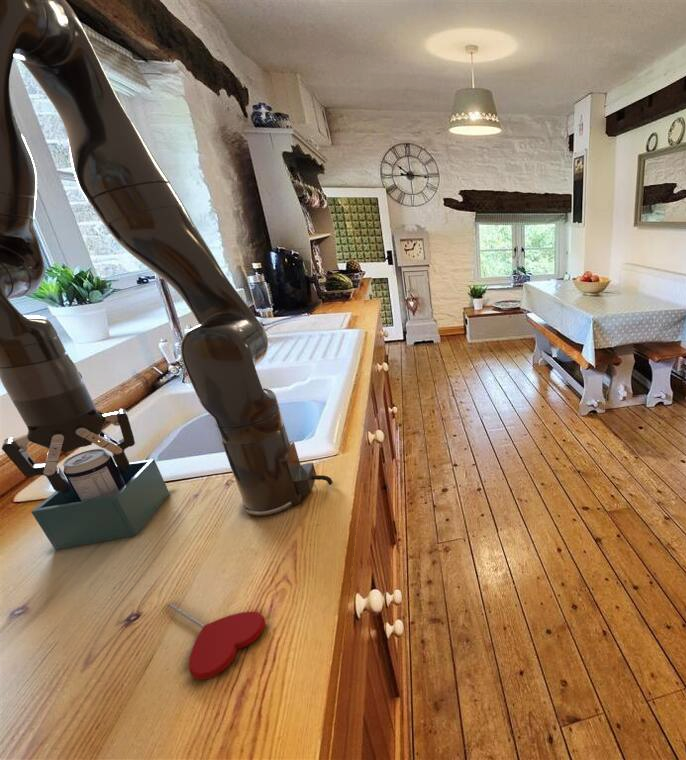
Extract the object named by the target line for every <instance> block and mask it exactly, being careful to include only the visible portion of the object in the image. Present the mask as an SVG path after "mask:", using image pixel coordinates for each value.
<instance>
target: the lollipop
mask: <svg viewBox="0 0 686 760" xmlns="http://www.w3.org/2000/svg"><path fill="white" fill-rule="evenodd" d="M166 606H167V607H169V608H170V609H171V610H173V611H174V612H176V613H178V614H180V615H181V616H182V617H184V618H186V619H187V620H189V621H191V622H192V623H193V624H195V625H197V626H198V627H199V628H201V630H200V632H199V633H198V635H197V638H196V640H195V641H194V644H193V645H192V649H191V652H190V655H189V659H188V670H189V673H190V675H191V676H192V677H193V678H195V679H198V680H208V679H211V678H214V677H215V676H217V675H219V674H221V673H222V672H223V671H225V670H226V669H227V668H228V667H229V666H230V665H231V664H232V663H233V661H234V659H235V657H236V655H237V651H238V649H243V648H246V647H247V646H249V645H251V644H253V643H254V642H256V640H258V638H259V637H260V636H261V635H262V633H263V631H264V629H265V626H266V619H265V617H264V615H263V614H262V613H261V612H257V611H243V612H242V611H241V612H238V613H234V614H230V615H227V616H224V617H221V618H219V619H217V620H213V621H212V622H208V623H206V624H204V623H202V622H201V621H199V620H198V619H196V618H194V617H193V616H191V615H190V614H188V613H186V612H185V611H183V610H182V609H180V608H179V607H177V606H176V605H174V604H172V603H171V602H168V603H167V604H166Z"/></svg>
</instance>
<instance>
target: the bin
mask: <svg viewBox="0 0 686 760" xmlns="http://www.w3.org/2000/svg"><path fill="white" fill-rule="evenodd" d="M129 464H130V466H129V468H128V469H126V470H127V472H126V473H123V474H121V473H120V471H119V469H118V467H117V465H116V464H115V465H116V467H117V469H118V471H119V473H120V475H121V477H122V479H123V481H124V483H125V486H124V487H123V488H122V489H121V490H120V491H119V492H118V493H117V494H116V495H115V496H112V497H106V498H99V499H93V500H87V501H81V502H80V501H79V499H78V498H77V496H76V494H75V492H74V491H73V489H72V487H71V485H70V483H69V482H68V480H67V482H68V483H69V485H70V492H67V493H63V492H62V491H59V492H57V491H55V490H54V492H53V493H52V494H50V495H49V496H48V497H46V499H44V500H43V501H42V502H40V504H38V505H37V506H36V507H34V508H33V509H32V510H31V511H30V512H31V515H32V516H33V518H34V519H35V521H36V522H37V523H38V525H39V527H40V528H41V530H42V532H43V533H44V535H45V536H46V538H47V539H48V541H49V542H50V544H51V545H52V547H53V549H54V550H56V551H57V550H61V549H62V550H63V549H66V548H73V547H79V546H84V545H85V546H86V545H89V544H95V543H100V542H107V541H112V540H117V539H118V540H119V539H123V538H128V537H134V536H137V535H138V533H139V532H140V531H141V530H142V529H143V527H144V526H145V525H146V524H147V523H148V521H149V520H150V519H151V517H152V515H154V514H155V512H156V511H157V510H158V509H159V507H160V506H161V505H162V504H163V502H164V501H165V499H167V497H168V496H169V495H170V491H169V489H168V487H167V484H166V482H165V480H164V478H163V476H162V473H161V471H160V469H159V466H158V465H157V464H158V463H157V462H156V461H155V459H154V458H153V459H147V460H146V459H145V460H140V461H133V462H132V461H131V462H129Z"/></svg>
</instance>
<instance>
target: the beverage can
mask: <svg viewBox="0 0 686 760" xmlns="http://www.w3.org/2000/svg"><path fill="white" fill-rule="evenodd" d="M62 466H63V471H62V473H63V474H64V476H65V478H66V480H67V481H68V482H69V483H70V485H71V487H72V489H73V491H74V492H75V494H76V496H77V498H78V499H79V501H80V502H81V501H87V500H93V499H99V498H106V497H112V496H115V495H116V494H117V493H118V492H119V491H120V490H121V489H122V488H123V487H124V486H125V483H124V481H123V479H122V477H121V475H120V473H119V471H118V469H117V467H116V463H115V461H114V458H113V456H112V454H109V453H108V452H106V449H105V450H104V448H94V449H93V448H92V449H89V450H85V451H82V452H79V453H75V454H74V455H72V456H70V457H68V458H66V459H65V460H64V461H63V463H62Z"/></svg>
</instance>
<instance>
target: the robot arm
mask: <svg viewBox="0 0 686 760" xmlns="http://www.w3.org/2000/svg"><path fill="white" fill-rule="evenodd" d="M14 58H16V59H18V60H19V61H20V62H21V63H22V65H23V66H24V67H25V68H26V69H27V70H28V72H30V74H31V75H32V77H33V78H34V79H35V81H36V82H37V83H38V85H39V87H40V88H41V89H42V91H43V92H44V93H45V96H47V98H48V99H49V101H50V102H51V104H52V106H53V107H54V109H55V110H56V112H57V114H58V115H59V117H60V119H61V122H62V124H63V126H64V129H65V132H66V138H67V142H68V148H69V154H70V155H69V156H70V162H71V166H72V171H73V174H74V177H75V180H76V183H77V185H78V187H79V189H80V191H81V193H82V194H83V196H84V198H85V200H86V201H87V203H89V205H90V206H91V208H92V209H93V211H94V213H96V215H97V216H98V218H99V219H100V221H101V222H102V224H103V225H104V226H105V228H106V230H107V231H108V232H109V233H110V235H111V236H112V237H113V238H114V239H115V241H116V242H117V244H119V245H120V246H121V247H122V248H123V249H125V250H126V251H127V252H128V253H129V254H130V255H131V256H132V257H134V258H135V259H136V260H137V261H139V262H140V263H141V264H143V265H144V267H145V266H146V268H148V269H149V270H151V271H152V272H153V273H154V274H155V275H157V276H158V277H160V279H162V280H164V281H165V282H166V283H167V284H168V285H169V286H171V288H173V290H175V291H176V293H177V294H178V295H179V296H180V297H181V299H182V300H183V301H184V303H185V304H186V306H187V307H188V308H189V310H190V311H191V313H192V315H193V316H194V318H195V320H196V322H197V323H198V325H196V326H194V327H193V328H191V329H189V330H188V331H187V332H186V333H185V334H184V335H183V337H182V339H181V343H180V355H181V360H182V364H183V367H184V369H185V372H186V374H187V376H188V379H189V381H190V384H191V386H192V388H193V390H194V392H195V394H196V396H197V399H198V401H199V402H200V405H201V406H202V408H203V409H204V410H205V411H206V412H207V413H208V414H209V415H210V416H211V417H212V420H213V422H214V425H215V428H216V431H217V433H218V436H219V439H220V442H221V444H222V447H223V450H224V453H225V455H226V459H227V461H228V464H229V467H230V469H231V472H232V475H233V477H234V481H235V482H236V486H237V488H238V491H239V495H240V496H241V500H242V503H243V507H244V509H245V511H246V513H247V514H249V515H250V516H255V517H265V516H271V515H275V514H278V513H281V512H283V511H285V510H287V509H289V508H291V507H293V506H297V505H300V502H301V501H302V497H303V495H307V494H308V495H309V494H312V491H313V488H314V484H315V481H316V480H317V481H318V480H319V481H320V480H322V481H326V482H327V484H328V485H329V486H331V485H333V483H334V482H333V480H332V478H331V477H330V476H327V475H322V474H321V475H317V473H316V469H315V465H314V462H309V463H308V462H307V463H303V464H301V462H300V459H299V455H298V450H297V447H296V444H295V442H294V440H291V441H290V439H289V436H288V432H287V429H286V425H285V421H284V418H283V415H282V411H281V407H280V404H279V401H278V397H277V395H276V393H275V392H274V391H273V390H272V389H270V388H266V387H263V386H262V383H261V380H260V377H259V374H258V371H257V369H256V367H257V366H258V365H259V364H260V363H261V362H263V360H265V358H266V356H267V354H268V352H269V346H270V345H269V338H268V334H267V332H266V330H265V328H264V326H263V325H262V324H261V322H260V321H259V319H258V318H257V317H256V315H255V314H254V312H253V311H252V310H251V309H250V307H249V306H248V305H247V303H246V302H245V301H244V300H243V298H242V297H241V295H240V294H239V293H238V291H237V290H236V289H235V288H234V285H232V283H231V282H230V280H229V278H227V276H226V275H225V272H224V271H223V270H222V268H221V266H220V265H219V263H218V260H217V259H216V257H215V256H214V254H213V253H212V251H211V249H210V248H209V246H208V244H207V243H206V241H205V239H204V237H203V236H202V235H201V233H200V231H199V229H198V228H197V227H196V225H195V223H194V221H193V220H192V218H191V216H190V214H189V212H188V210H187V208H186V207H185V205H184V203H183V202H182V199H180V196H179V195H178V194H177V192H176V190H175V189H174V187H173V185H172V184H171V182H170V180H169V179H168V177H167V175H166V174H165V173H164V171H163V170H162V168H161V167H160V165H159V164H158V162H157V160H156V158H155V157H154V155H153V154H152V152H151V150H150V149H149V147H148V145H147V143H146V142H145V140H144V139H143V137H142V135H141V134H140V131H138V128H137V127H136V125H135V124H134V123H133V121H132V119H131V118H130V116H129V114H128V113H127V112H126V111H127V110H126V109H125V108H124V106H123V105H122V103H121V101H120V98H119V97H118V95H117V93H116V91H115V90H114V88H113V86H112V83H111V82H110V79H109V77H108V76H107V73H106V72H105V69H104V67H103V66H102V64H101V63H102V62H101V61H100V59H99V57H98V55H97V53H96V51H95V49H94V47H93V45H92V42H91V41H90V39H89V37H88V35H87V33H86V30H85V29H84V26H83V25H82V23H81V21H80V20H79V18H78V16H77V14H76V13H75V11H74V10H73V8H72V7H71V5H70V4H69V3H68V2H67V0H0V382H1V384H2V386H3V387H4V389H5V391H6V393H7V395H8V396H9V398H10V401H12V403H13V405H14V407H15V409H16V410H17V412H18V414H19V416H20V418H21V419H22V421H23V422H24V424H25V426H26V428H27V434H24V435H22V436H18V437H8V438H5V439H4V441H3V444H2V445H1V450H2V451H3V452H4V454H5V455H6V456H7V457H8V458H9V459H10V461H11V462H12V463H13V465H15V467H17V469H18V470H19V471H20V472H21V473H22V475H23V476H24V477H26V478H32V477H35V476H43V477H46V478H47V481H48V482H49V483H50V485H51V487H52V488H53V491H54V492H55V491H57V492H59V491H62V492H63V493H67V492H70V485H69V483H68V482H67V481H68V480H67V478H66V476H65V475H64V473H63V471H62V469H61V468H60V467H58V462H59V459H60V456H61V452H63V453H68V452H72V451H74V450H76V449H78V448H84V447H89V446H92V445H93V444H94V445H97V446H98V447H99V448H100V449H105V450H107V451H108V452H110V453H111V457H112V459H113V461H114V463H115V465H117V467H118V469H119V471H120V473H121V474H123V473H126V472H127V470H126V469H128V468H129V466H130V464H129V463H130V461H129V459H128V456H127V455H126V452H125V451H126V449H128V448H130V447H133V446H135V444H136V441H135V437H134V433H133V430H132V426H131V422H130V420H129V419H130V418H129V415H128V412H127V410H126V409H125V408H119V409H118V410H117V411H114V412H109V413H103V412H101V411H99V410H98V408H97V407H96V405H95V402H94V401H93V399H92V396H91V395H90V392H89V390H88V389H87V386H86V384H85V382H84V380H83V376H82V373H81V372H79V370H78V368H77V366H76V364H75V363H74V362H73V360H72V358H71V357H70V356H69V354H68V353H67V350H66V348H65V346H64V344H63V342H62V340H61V337H60V336H59V334H58V332H57V330H56V328H55V327H54V324H52V322H51V321H50V320H49V319H48V318H47V317H44V316H42V315H41V316H40V315H34V314H33V315H32V314H28V315H26V314H22V313H21V312H20V311H19V310H18V309H17V307H15V306H14V305H13V304H12V302H11V301H10V300H13V299H17V298H23V297H26V296H29V295H31V294H34V293H35V292H36V291H38V289H39V288H40V287H41V286H42V283H43V281H44V278H45V274H46V273H45V272H46V268H45V261H44V257H43V253H42V250H41V246H40V242H39V238H38V235H37V233H36V230H35V227H34V221H35V211H36V200H37V190H38V186H37V184H38V182H37V181H38V179H37V172H36V171H37V170H36V167H35V163H34V160H33V157H32V154H31V151H30V149H29V147H28V145H27V142H26V139H25V137H24V136H23V134H22V131H21V129H20V127H19V123H18V121H17V118H16V115H15V112H14V108H13V104H12V100H11V92H10V91H11V90H10V79H11V72H12V67H13V62H14ZM106 422H110V423H111V424H112V425H113V426H115V427H118V426H119V428H120V432H121V436H122V438H121V439H120V440H116V439H115V438H113V437H111V436H110V435H109V434H108V433H106V432H104V431H103V428H104V426H105V424H106ZM29 443H33V444H36V445H38V446H42V447H44V448H47V449H48V450H47V454H46V458H45V461H44V463H36V462H35V461H34V459H33V458H32V457H31V456H30V454H29V453H28V452H27V451H28V449H29Z"/></svg>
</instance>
